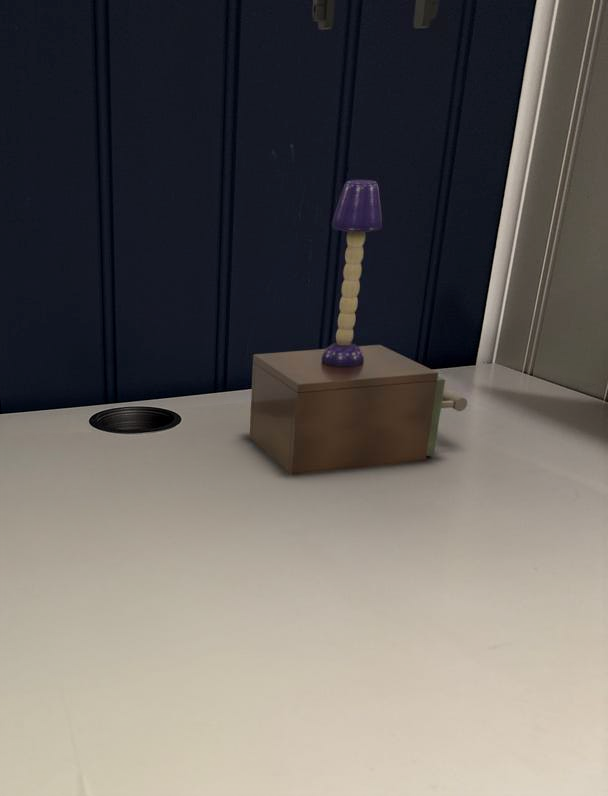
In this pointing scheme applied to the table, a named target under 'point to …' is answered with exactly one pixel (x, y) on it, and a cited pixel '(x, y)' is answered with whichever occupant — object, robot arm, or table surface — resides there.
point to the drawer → (442, 400)
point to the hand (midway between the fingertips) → (373, 28)
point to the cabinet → (341, 410)
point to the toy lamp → (352, 263)
